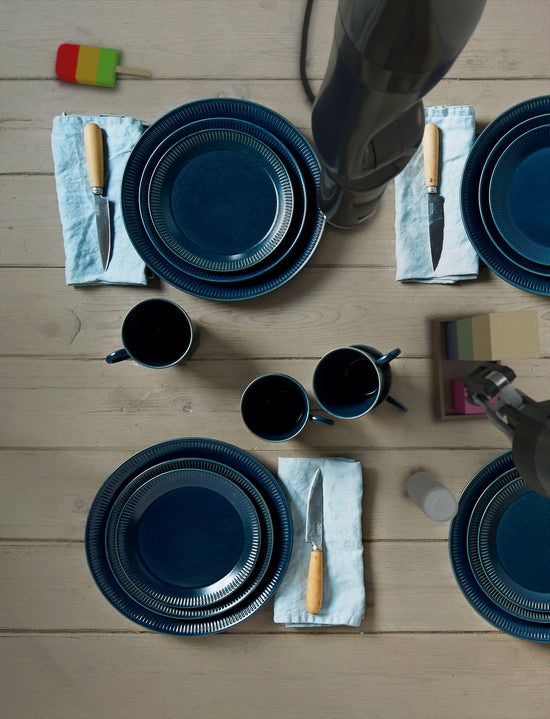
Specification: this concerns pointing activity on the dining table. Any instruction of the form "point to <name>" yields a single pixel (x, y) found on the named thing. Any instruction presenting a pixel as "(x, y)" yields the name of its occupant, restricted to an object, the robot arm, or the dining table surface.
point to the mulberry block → (459, 399)
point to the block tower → (493, 337)
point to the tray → (449, 372)
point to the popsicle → (91, 65)
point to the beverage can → (432, 497)
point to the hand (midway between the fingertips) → (503, 428)
